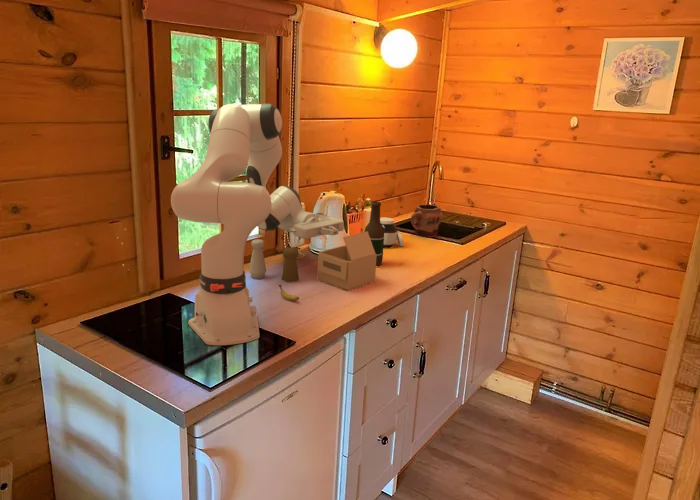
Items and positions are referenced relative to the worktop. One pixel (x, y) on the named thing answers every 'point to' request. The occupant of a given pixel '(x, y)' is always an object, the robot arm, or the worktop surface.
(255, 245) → the salt shaker
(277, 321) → the worktop surface
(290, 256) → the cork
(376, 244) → the beer bottle
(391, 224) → the spread jar
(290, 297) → the banana
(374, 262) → the carton
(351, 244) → the flap
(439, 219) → the decorative planter
